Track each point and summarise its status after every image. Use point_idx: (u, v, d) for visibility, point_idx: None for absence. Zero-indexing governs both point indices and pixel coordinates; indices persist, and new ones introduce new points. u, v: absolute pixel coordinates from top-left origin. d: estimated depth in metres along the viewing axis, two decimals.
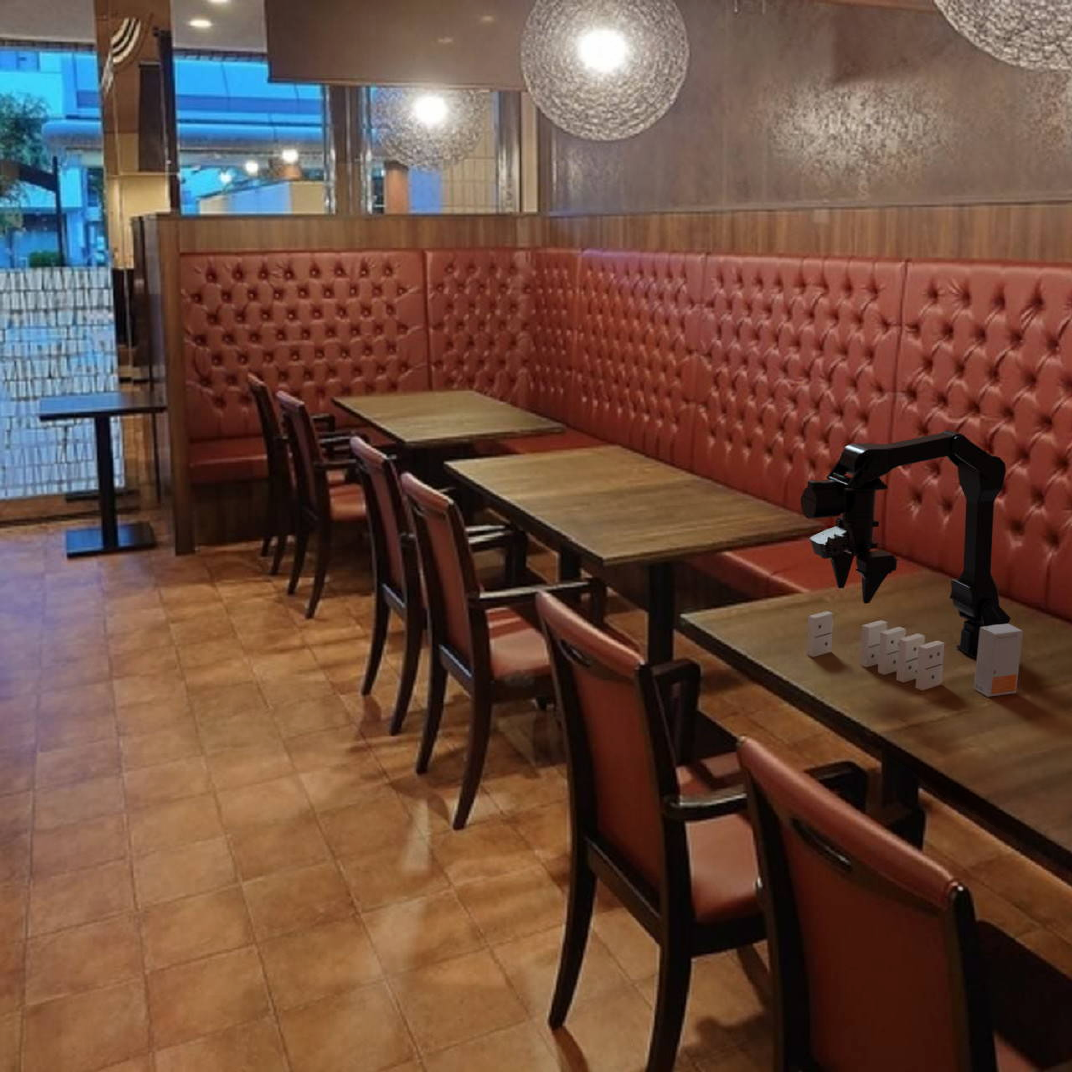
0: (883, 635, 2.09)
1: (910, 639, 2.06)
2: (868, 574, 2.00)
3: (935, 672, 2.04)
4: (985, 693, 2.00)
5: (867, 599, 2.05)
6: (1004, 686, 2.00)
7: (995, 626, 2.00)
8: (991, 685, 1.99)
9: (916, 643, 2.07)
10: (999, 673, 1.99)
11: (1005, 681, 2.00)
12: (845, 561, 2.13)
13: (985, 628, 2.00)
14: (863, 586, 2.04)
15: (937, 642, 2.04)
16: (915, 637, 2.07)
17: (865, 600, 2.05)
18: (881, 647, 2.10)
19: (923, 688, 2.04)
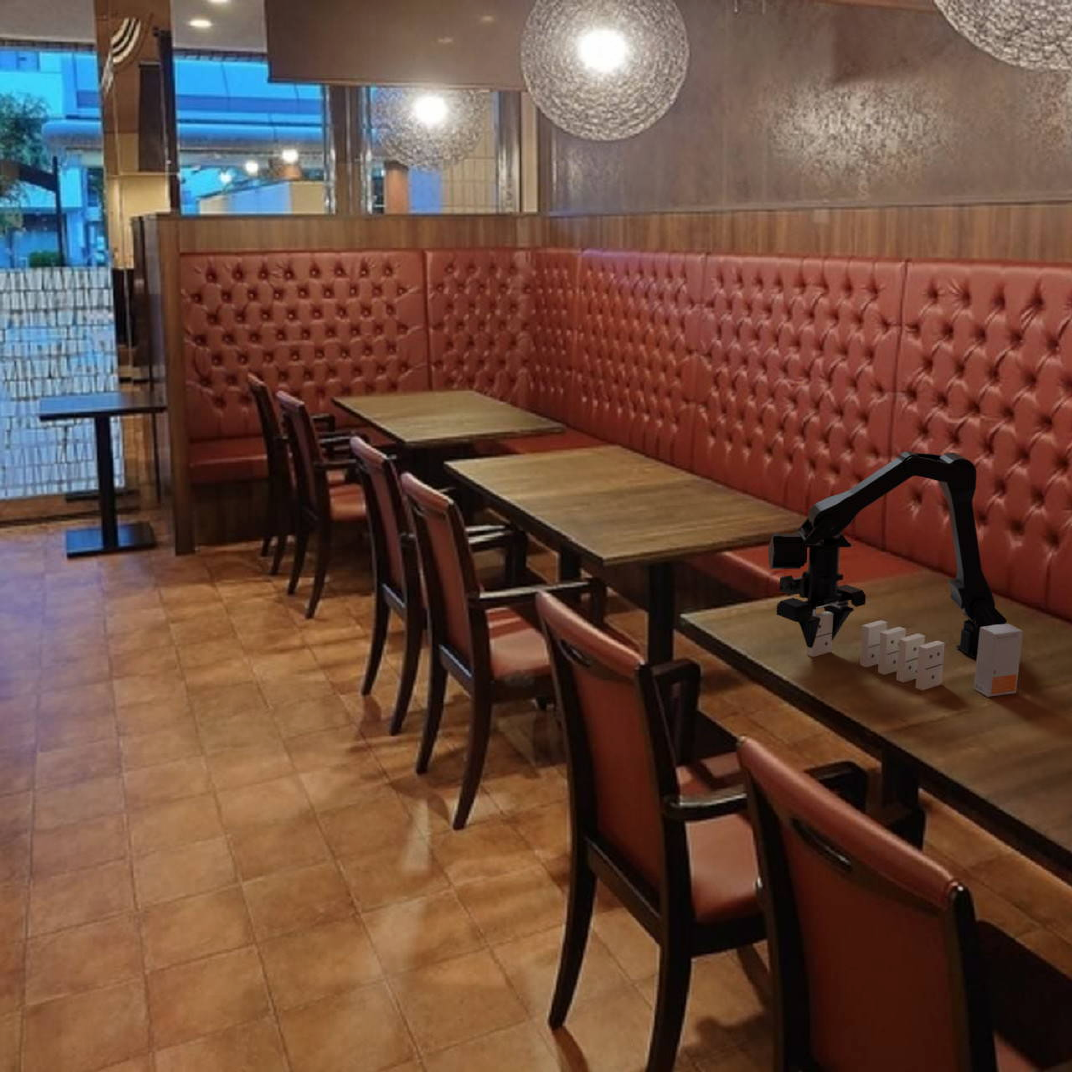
0: (883, 635, 2.09)
1: (910, 639, 2.06)
2: None
3: (935, 672, 2.04)
4: (985, 693, 2.00)
5: (807, 643, 2.20)
6: (1004, 686, 2.00)
7: (995, 626, 2.00)
8: (991, 685, 1.99)
9: (916, 643, 2.07)
10: (999, 673, 1.99)
11: (1005, 681, 2.00)
12: (835, 618, 2.21)
13: (985, 628, 2.00)
14: None
15: (937, 642, 2.04)
16: (915, 637, 2.07)
17: (806, 643, 2.20)
18: (881, 647, 2.10)
19: (923, 688, 2.04)
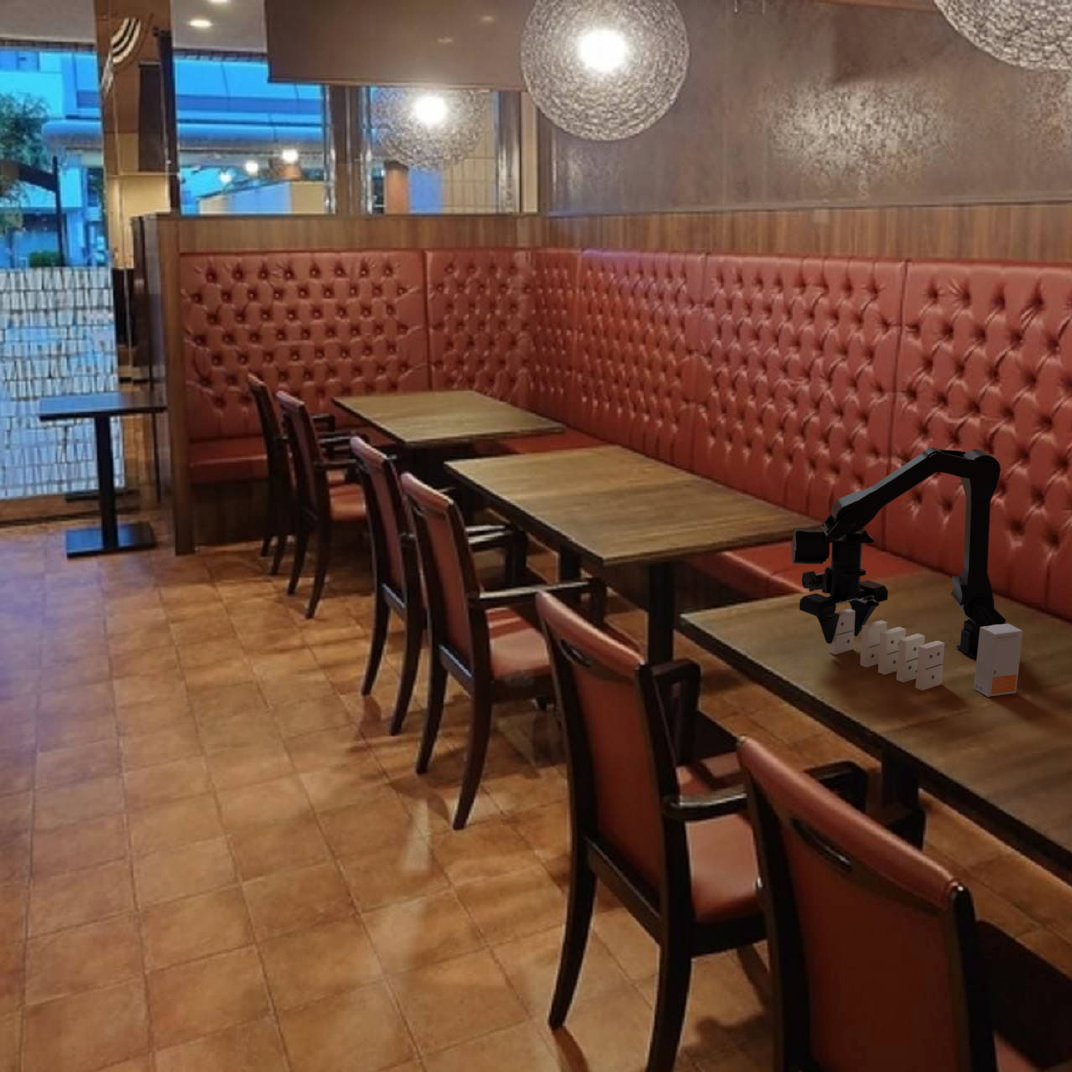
0: (883, 635, 2.09)
1: (910, 639, 2.06)
2: None
3: (935, 672, 2.04)
4: (985, 693, 2.00)
5: (827, 639, 2.20)
6: (1004, 686, 2.00)
7: (995, 626, 2.00)
8: (991, 685, 1.99)
9: (916, 643, 2.07)
10: (999, 673, 1.99)
11: (1005, 681, 2.00)
12: (860, 612, 2.22)
13: (985, 628, 2.00)
14: None
15: (937, 642, 2.04)
16: (915, 637, 2.07)
17: (825, 639, 2.20)
18: (881, 647, 2.10)
19: (923, 688, 2.04)
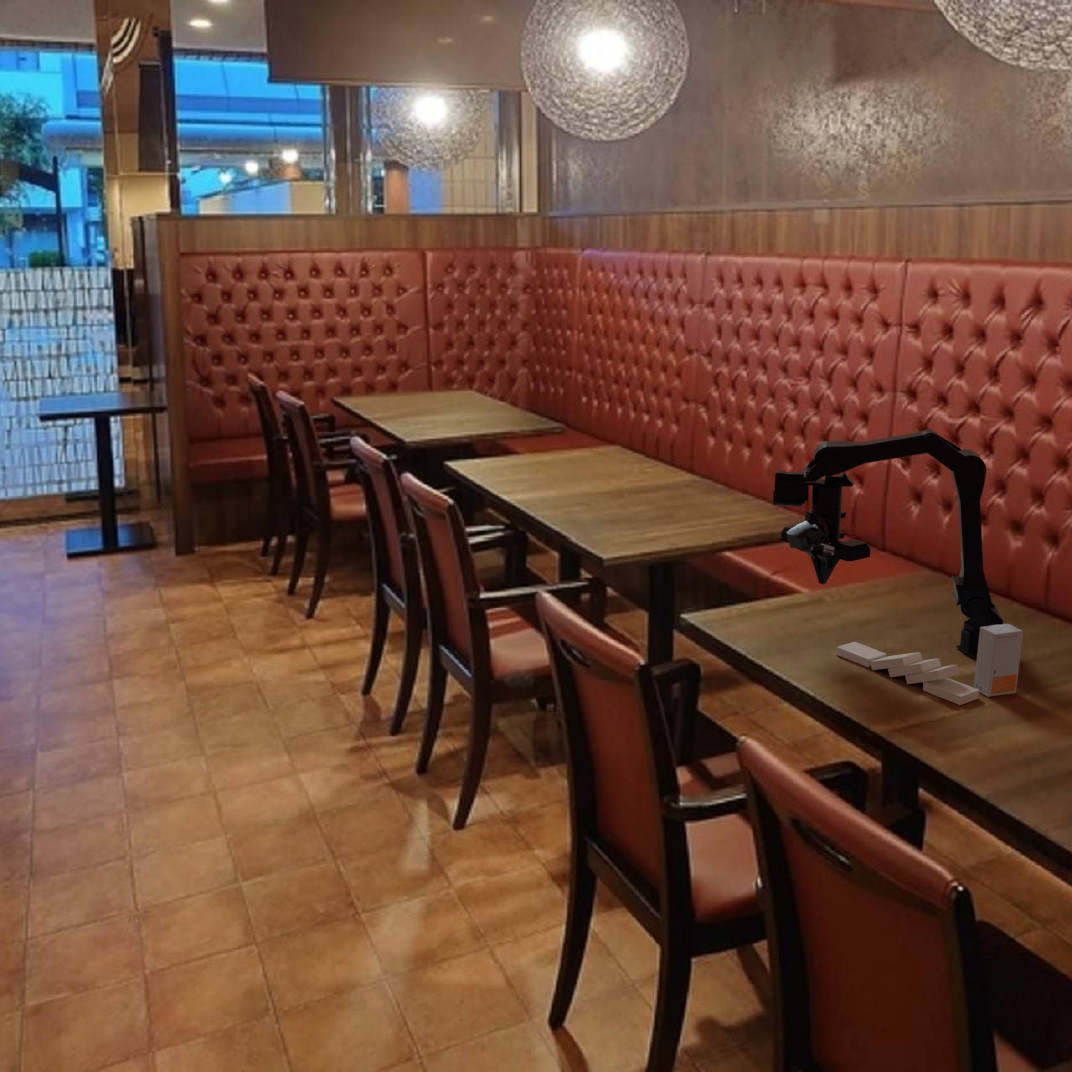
0: (919, 668, 2.03)
1: (945, 676, 2.00)
2: (830, 557, 2.18)
3: None
4: (985, 693, 2.00)
5: (824, 580, 2.23)
6: (1004, 686, 2.00)
7: (995, 626, 2.00)
8: (991, 685, 1.99)
9: None
10: (999, 673, 1.99)
11: (1005, 681, 2.00)
12: None
13: (985, 628, 2.00)
14: (822, 568, 2.21)
15: (976, 694, 1.99)
16: (951, 673, 2.01)
17: (823, 581, 2.23)
18: (908, 668, 2.05)
19: (924, 690, 2.03)
